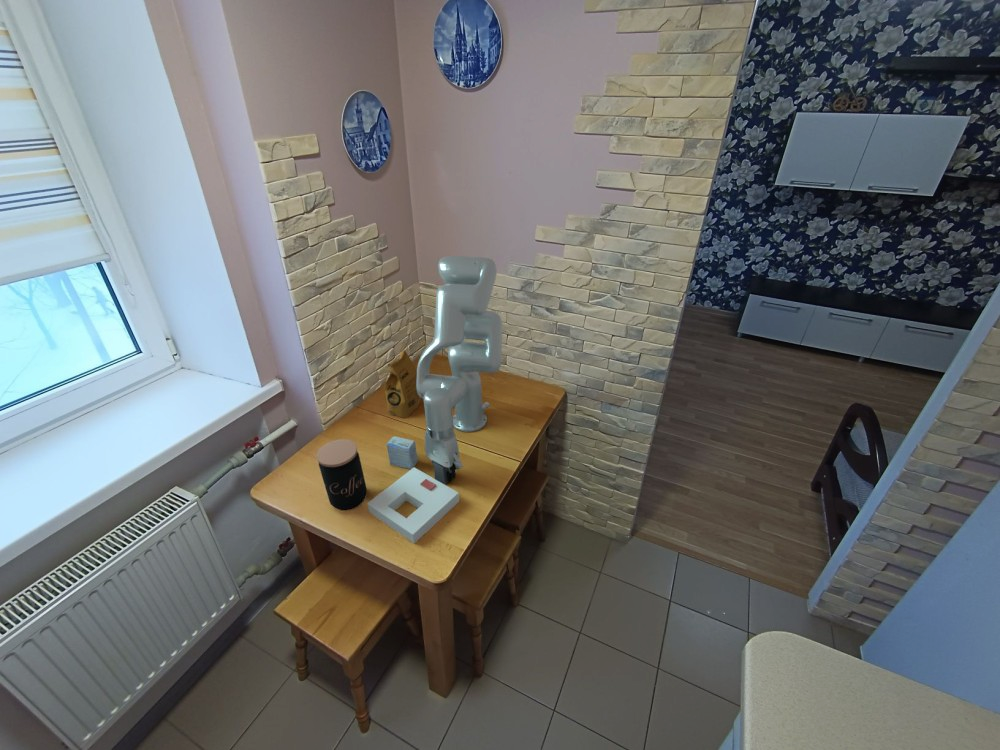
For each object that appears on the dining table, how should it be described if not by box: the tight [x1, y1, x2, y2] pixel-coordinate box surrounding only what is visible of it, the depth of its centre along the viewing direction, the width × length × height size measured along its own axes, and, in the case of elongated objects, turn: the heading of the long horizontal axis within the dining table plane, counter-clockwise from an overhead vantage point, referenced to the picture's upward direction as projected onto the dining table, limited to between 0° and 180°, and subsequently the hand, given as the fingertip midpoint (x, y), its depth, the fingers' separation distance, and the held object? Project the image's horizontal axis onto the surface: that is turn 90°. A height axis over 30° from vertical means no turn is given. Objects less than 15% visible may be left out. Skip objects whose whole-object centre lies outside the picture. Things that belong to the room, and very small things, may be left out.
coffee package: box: [384, 350, 421, 419], centre depth 166 cm, size 10×12×22 cm
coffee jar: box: [316, 438, 368, 511], centre depth 129 cm, size 11×11×18 cm
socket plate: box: [366, 467, 460, 544], centre depth 130 cm, size 18×18×4 cm
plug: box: [432, 461, 452, 485], centre depth 139 cm, size 5×4×8 cm
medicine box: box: [386, 435, 419, 470], centre depth 144 cm, size 8×4×9 cm, turn 71°
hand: (445, 475), depth 140 cm, fingers open, 4 cm apart
